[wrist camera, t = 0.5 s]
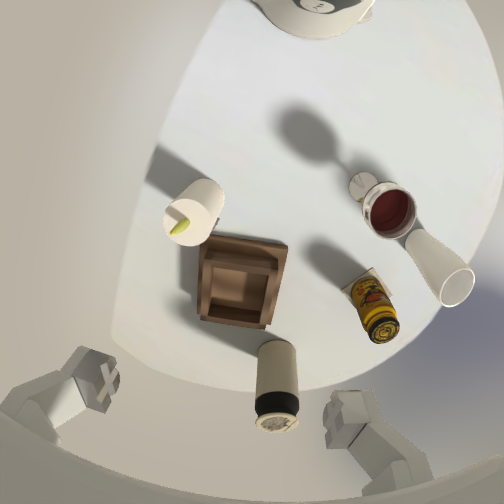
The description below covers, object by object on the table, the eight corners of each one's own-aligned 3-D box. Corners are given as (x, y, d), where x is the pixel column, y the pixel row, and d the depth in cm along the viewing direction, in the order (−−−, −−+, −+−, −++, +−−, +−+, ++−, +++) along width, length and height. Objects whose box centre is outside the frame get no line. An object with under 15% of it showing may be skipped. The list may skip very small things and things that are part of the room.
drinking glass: (393, 246, 45) (430, 296, 32) (416, 216, 42) (462, 258, 29) (415, 263, 46) (452, 314, 33) (437, 236, 44) (481, 280, 30)
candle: (212, 224, 45) (188, 274, 32) (178, 203, 44) (141, 244, 31) (233, 194, 43) (217, 234, 29) (198, 170, 41) (164, 200, 28)
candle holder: (202, 233, 46) (195, 246, 42) (287, 246, 46) (289, 261, 42) (198, 308, 54) (193, 325, 49) (270, 319, 54) (270, 337, 49)
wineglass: (342, 207, 43) (364, 240, 32) (344, 165, 40) (370, 185, 29) (381, 208, 42) (412, 240, 32) (385, 167, 39) (421, 188, 28)
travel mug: (251, 356, 59) (245, 427, 43) (270, 334, 56) (269, 409, 40) (282, 367, 60) (283, 436, 45) (302, 347, 57) (309, 419, 41)
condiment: (372, 267, 47) (395, 308, 37) (392, 294, 50) (414, 336, 39) (340, 290, 50) (355, 335, 39) (362, 315, 52) (377, 359, 42)
